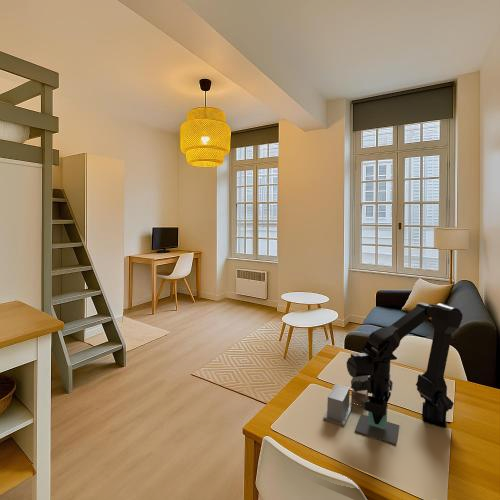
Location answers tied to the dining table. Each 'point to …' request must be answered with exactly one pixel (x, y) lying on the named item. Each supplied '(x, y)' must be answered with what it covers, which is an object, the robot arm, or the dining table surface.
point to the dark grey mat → (378, 430)
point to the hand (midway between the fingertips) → (377, 419)
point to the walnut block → (359, 397)
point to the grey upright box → (338, 405)
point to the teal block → (382, 422)
